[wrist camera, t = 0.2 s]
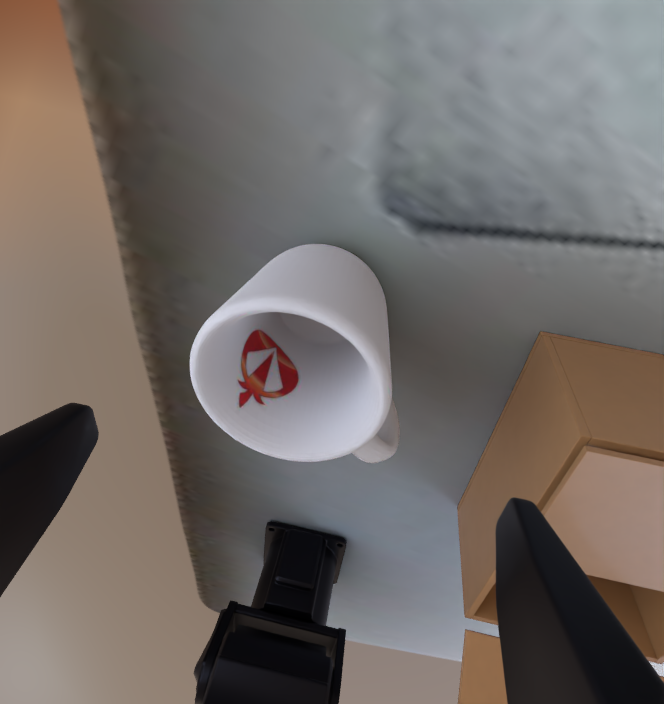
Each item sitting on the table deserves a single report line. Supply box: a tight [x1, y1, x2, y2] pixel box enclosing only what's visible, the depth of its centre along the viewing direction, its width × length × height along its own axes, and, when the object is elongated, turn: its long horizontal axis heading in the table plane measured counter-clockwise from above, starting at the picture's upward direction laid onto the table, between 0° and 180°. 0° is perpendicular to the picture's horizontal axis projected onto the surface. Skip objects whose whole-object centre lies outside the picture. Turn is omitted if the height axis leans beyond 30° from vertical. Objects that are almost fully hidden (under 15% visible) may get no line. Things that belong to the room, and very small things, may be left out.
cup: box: [190, 244, 399, 463], centre depth 21 cm, size 11×8×8 cm
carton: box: [457, 331, 664, 664], centre depth 23 cm, size 15×11×8 cm
